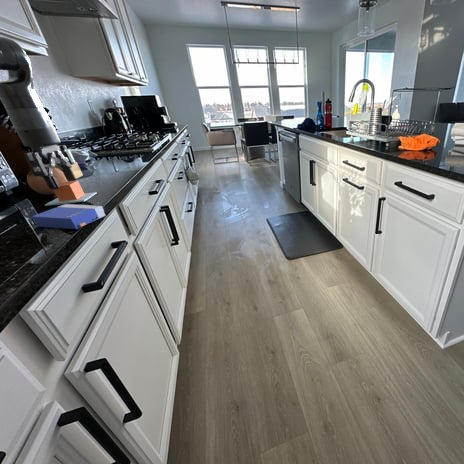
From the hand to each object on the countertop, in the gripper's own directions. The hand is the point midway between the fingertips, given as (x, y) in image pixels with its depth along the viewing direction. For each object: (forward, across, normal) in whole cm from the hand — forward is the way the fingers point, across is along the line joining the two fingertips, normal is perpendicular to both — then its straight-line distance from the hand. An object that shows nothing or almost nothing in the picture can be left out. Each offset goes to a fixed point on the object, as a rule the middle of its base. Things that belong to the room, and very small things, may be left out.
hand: (64, 184), depth 75 cm
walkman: (+3, +18, +5) cm, 18 cm away
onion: (+5, -10, -10) cm, 15 cm away
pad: (+5, 0, 0) cm, 5 cm away
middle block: (-1, -32, -16) cm, 36 cm away
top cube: (+4, 0, 0) cm, 4 cm away
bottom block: (+5, -32, -16) cm, 36 cm away
